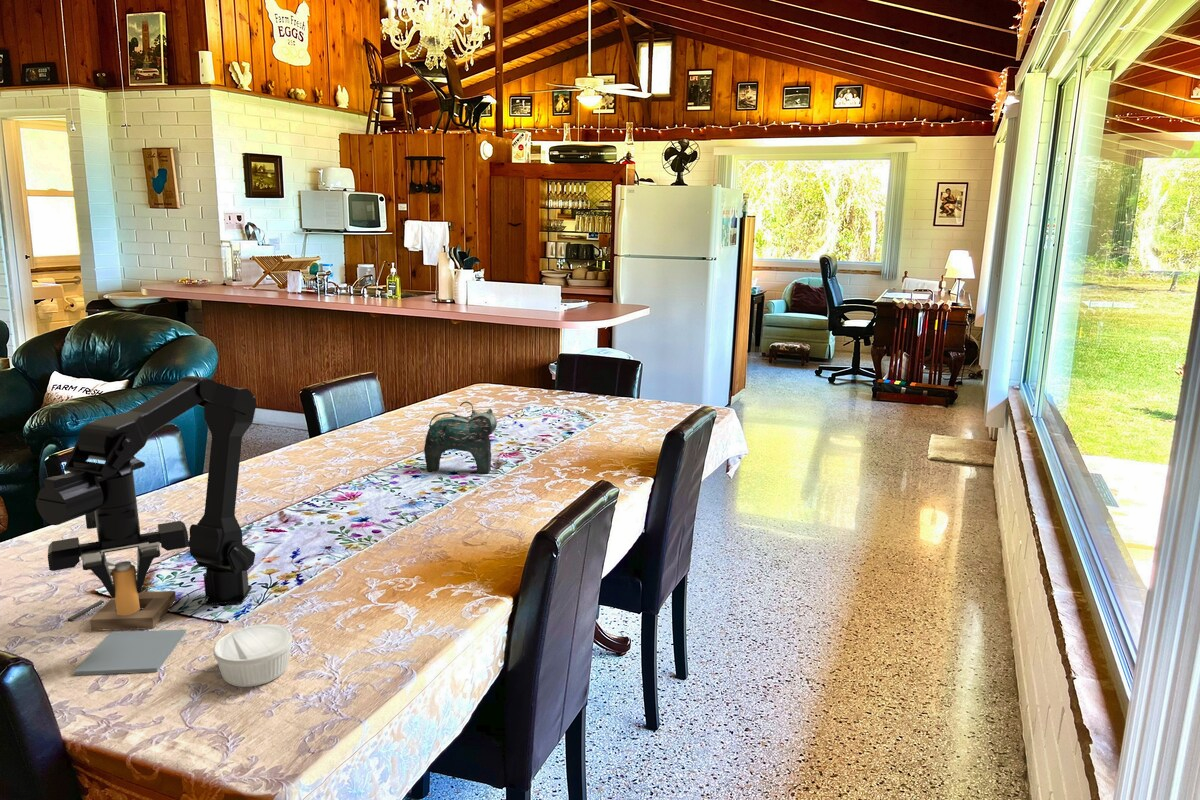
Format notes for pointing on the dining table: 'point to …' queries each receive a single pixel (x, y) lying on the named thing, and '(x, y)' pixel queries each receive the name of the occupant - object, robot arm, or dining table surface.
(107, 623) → the brown square frame
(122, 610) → the orange cylinder
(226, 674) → the ramekin
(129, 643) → the rubber mat
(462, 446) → the green animal figurine
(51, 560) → the robot arm
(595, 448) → the dining table surface
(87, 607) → the strip
